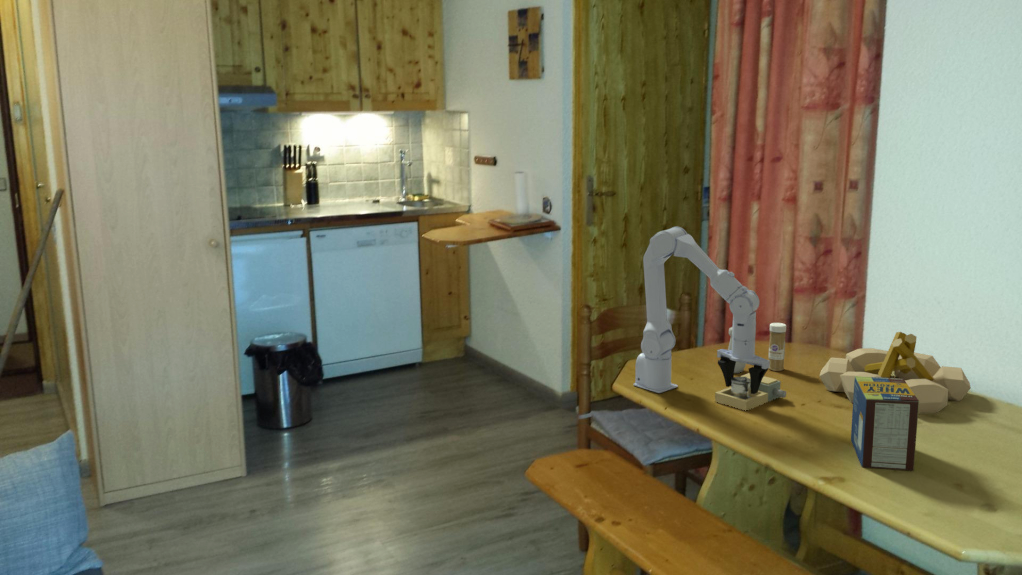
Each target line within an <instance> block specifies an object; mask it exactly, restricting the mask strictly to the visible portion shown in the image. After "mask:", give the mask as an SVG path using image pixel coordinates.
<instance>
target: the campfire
mask: <svg viewBox="0 0 1022 575" xmlns="http://www.w3.org/2000/svg"><path fill="white" fill-rule="evenodd" d="M916 344H917V336H916V335H915V334H913V333H909V334H906V333H904V332H902V331H897V332H895V335H894V337H893V339H892V341H891V344H890V346H889V348H888V350H886V349H885V350H884V349H877V348H874V347H870V348H869V347H868V348H857V349H854V350H853V351H850V352H848V353H846V354H845V358H844V357H843V358H841V357H830V358H829V360H827V362H826V363H825V364H824V366H823V367H822V368H821V370H820V373H819V378H820V380H821V382H822V383H823V386H824V387H825V389H826V390H827V391H830V392H836V393H837V392H838V393H845V395H846V397H847V399H848V400H849V402H850V403H851V404H853V396H854V380H855V376H861V377H882V378H891V376H892V374H894V376H895V377H896V378H903V379H904V380H905V382H906V383H907V384H908V386H909V387H910V389H911V390H912V392H913V393H914V394H915V396H916V397H917V399H918V400H919V409H918V415H919V414H938V413H939V412H940V411H942V410H943V409H944V408H945V407H947V406H948V401H957V402H959V401H961V400H963V399H964V397H965V396H967V394H968V392H969V391H970V389H972V388H971V383H970V381H969V380H968V378H967V376H966V373H965V372H964V370H963V369H962V367H955V366H944V365H940V364H939V362H938V361H937V360H936V358H935V357H934V356H933V355H931V354H925V353H919V352H915V350H916ZM893 372H894V373H893Z"/></svg>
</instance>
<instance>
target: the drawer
mask: <svg viewBox="0 0 1022 575" xmlns="http://www.w3.org/2000/svg"><path fill="white" fill-rule="evenodd" d="M739 377H747V378H749V379H750V373H749V372H747V373H746V374H743V375H740V376H739ZM786 396H787V391H786V390H784V389H781V380H778V379H776V378H773V377H768V376H765V375H764V377H763V379H762V381H761V383H760V386H759V390H758V393H755V394H751V379H750V395H749V399H746V400H744V399H741V398H738V397H734V396H731V386H730V387H726V388H724V389H722V390H718V391H716V392H714V402H715V401H716V402H715V403H717V402H718V403H717V404H721V405H724V404H725V406H727V405H729V406H728V407H731V406H733V407H732V408H734V407H735V408H734V409H737V408H738V410H741V409H742V410H741V411H744V410H745V411H744V412H747V411H746V410H748V411H750V410H752V409H755V408H757V407H760V406H762V405H764V403H765V404H766V402H767V403H769V402H772V401H774V400H776V398H777V399H779V398H783V399H785V398H786ZM773 399H774V400H773ZM771 400H772V401H771ZM768 401H769V402H768ZM759 405H760V406H759ZM756 406H757V407H756ZM754 407H755V408H754ZM751 408H752V409H751ZM749 409H750V410H749Z"/></svg>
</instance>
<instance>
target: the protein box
mask: <svg viewBox="0 0 1022 575" xmlns="http://www.w3.org/2000/svg"><path fill="white" fill-rule="evenodd" d="M918 409H919V400H918V399H917V397H916V396H915V394H914V393H913V392H912V390H911V389H910V387H909V386H908V384H907V383H906V382H905V380H904V379H903V378H898V377H890V378H882V377H861V376H855V380H854V396H853V403H852V414H851V430H850V431H851V432H850V442H851V444H852V447H853V448H854V451H855V454H856V456H857V459H858V462H859V465H860V466H861V467H862V468H867V469H868V468H870V469H886V470H899V471H914V470H915V456H916V445H917V433H918V422H919V421H918V418H919V414H918Z"/></svg>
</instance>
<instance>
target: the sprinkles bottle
mask: <svg viewBox="0 0 1022 575" xmlns="http://www.w3.org/2000/svg"><path fill="white" fill-rule="evenodd" d="M786 332H787V324H785V323H782V322H771V323H770V324H769V345H768V360H770V367H769V368H768V370H771V371H774V372H780V371H783V370H785V366H784V365H785V354H786V352H785V350H786Z"/></svg>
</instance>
